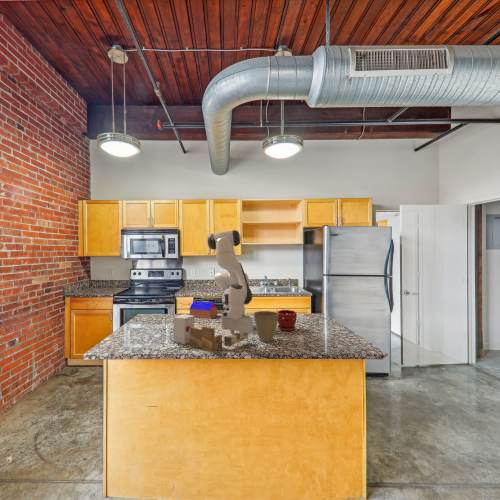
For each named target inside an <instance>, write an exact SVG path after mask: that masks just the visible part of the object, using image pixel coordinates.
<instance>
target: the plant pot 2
mask: <svg viewBox="0 0 500 500" xmlns="http://www.w3.org/2000/svg"><path fill="white" fill-rule="evenodd" d="M277 313H278V314H279V315H278V322H277V325H278V326H277V328H278V329H279V330H280V331H285V332H291V331H293V330H295V329H296V326H295V325H296V322H297V316H298V315H297V312H296V311H294V310H290V309H281V310H278V311H277Z"/></svg>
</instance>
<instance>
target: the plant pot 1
mask: <svg viewBox="0 0 500 500" xmlns="http://www.w3.org/2000/svg"><path fill="white" fill-rule="evenodd" d="M277 312H278V311H277ZM277 312H276V311H272V310H271V311H269V310H261V311H260V310H259V311H255V312H253V317H254V318H253V320H254V323H255V329H256V332H257V334H258V335H257V336H258V338H259V340H260V342H264V343H266V342H267V343H268V342H272V341H273V339H274V336H275V334H276V330H277V327H278V326H277V325H278V315H279V314H278V313H277Z"/></svg>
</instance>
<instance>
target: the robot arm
mask: <svg viewBox="0 0 500 500" xmlns="http://www.w3.org/2000/svg"><path fill="white" fill-rule="evenodd" d="M241 241H242V236H241V234H240V232H239V231H238V230H236V229H233V230H224V231H220V232H215V233H210V234H209V235H207V238H206V243H207V246H208V248H209V249H211V250H213V251H215V253H216V254H215V255H216V256H215V257H216V262H217V265H218V266H219V267H220V268H222V269H223V270H226V271H220V272H219V271H218V272H217V273H215V274H214V277H213V278H214V279H213V280H214V281H213V282H214V283H215V285H216V286H217V287H218V288H219V289H220V291H221V294H220V295H221V297H220V298H221V303H222V304H223V306H222V312H221V316H222V317H221V323H220V326H221V328H222V329H226V330H230V333H231V335H233V334H236V332H240V333H241V334H240V336H238V339H242V336H243V334H244V333H248V334H251V333H253V331H254V323H253V318H252V317H251V316H250V315H246V314H245V313H246V311H245V309H246V307H245V305H249V304H250V303H251V301H252V300H253V293H252V290H251V288H250V286H249V280H250V278H249V276H248V274H247V273H246V272H245V269H244V268H243V265H242V263H241V262H240V261H238V260H237V256H236V252H235V247H238V246H239V245H241ZM235 331H236V332H235Z"/></svg>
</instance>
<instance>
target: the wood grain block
mask: <svg viewBox="0 0 500 500" xmlns="http://www.w3.org/2000/svg"><path fill="white" fill-rule="evenodd" d="M215 333H216V332H215V327H211V326H208V325H202V326H201V328H199V327H195V326H194V327H190V342H189V345H190V346H193V347H196V348H198V349H202V350H205V351H209V352H214V351H216V350H219V349H222V348H223V334H217V335H215Z"/></svg>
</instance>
